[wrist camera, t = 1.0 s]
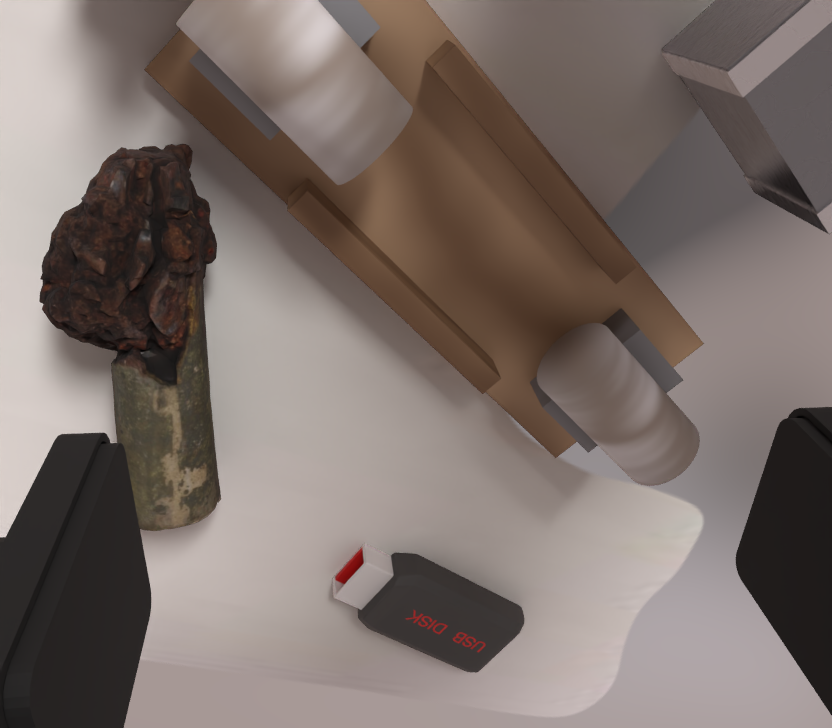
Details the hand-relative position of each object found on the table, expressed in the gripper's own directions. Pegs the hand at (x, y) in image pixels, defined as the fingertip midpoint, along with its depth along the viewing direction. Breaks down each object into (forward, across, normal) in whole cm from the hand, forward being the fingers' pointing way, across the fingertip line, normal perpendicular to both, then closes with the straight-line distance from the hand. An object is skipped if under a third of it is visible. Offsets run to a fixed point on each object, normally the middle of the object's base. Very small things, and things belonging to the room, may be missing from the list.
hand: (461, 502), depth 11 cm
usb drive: (+26, -4, +29) cm, 39 cm away
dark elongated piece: (+28, +9, +15) cm, 34 cm away
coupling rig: (+26, -5, +4) cm, 27 cm away
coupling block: (+26, -18, -2) cm, 32 cm away
